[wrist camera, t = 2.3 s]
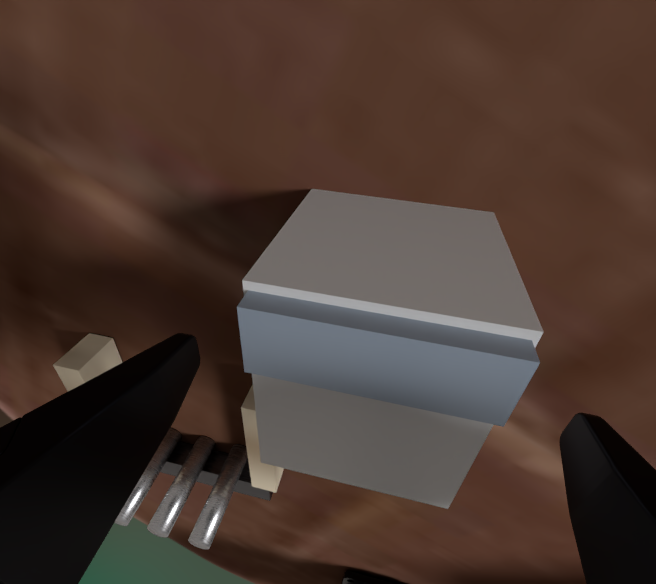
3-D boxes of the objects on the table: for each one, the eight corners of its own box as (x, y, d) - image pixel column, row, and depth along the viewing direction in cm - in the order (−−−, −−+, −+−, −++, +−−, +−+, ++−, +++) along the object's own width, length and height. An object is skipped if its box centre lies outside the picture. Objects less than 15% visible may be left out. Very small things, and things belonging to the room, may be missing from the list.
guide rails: (288, 453, 18) (276, 492, 17) (125, 414, 20) (99, 447, 18) (287, 374, 15) (271, 414, 13) (89, 333, 16) (53, 364, 15)
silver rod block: (277, 478, 20) (245, 573, 17) (149, 446, 21) (93, 528, 18) (275, 453, 19) (240, 551, 15) (138, 420, 20) (75, 503, 16)
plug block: (440, 366, 13) (449, 530, 9) (308, 340, 14) (253, 480, 9) (493, 211, 10) (553, 354, 5) (312, 187, 10) (229, 296, 6)
